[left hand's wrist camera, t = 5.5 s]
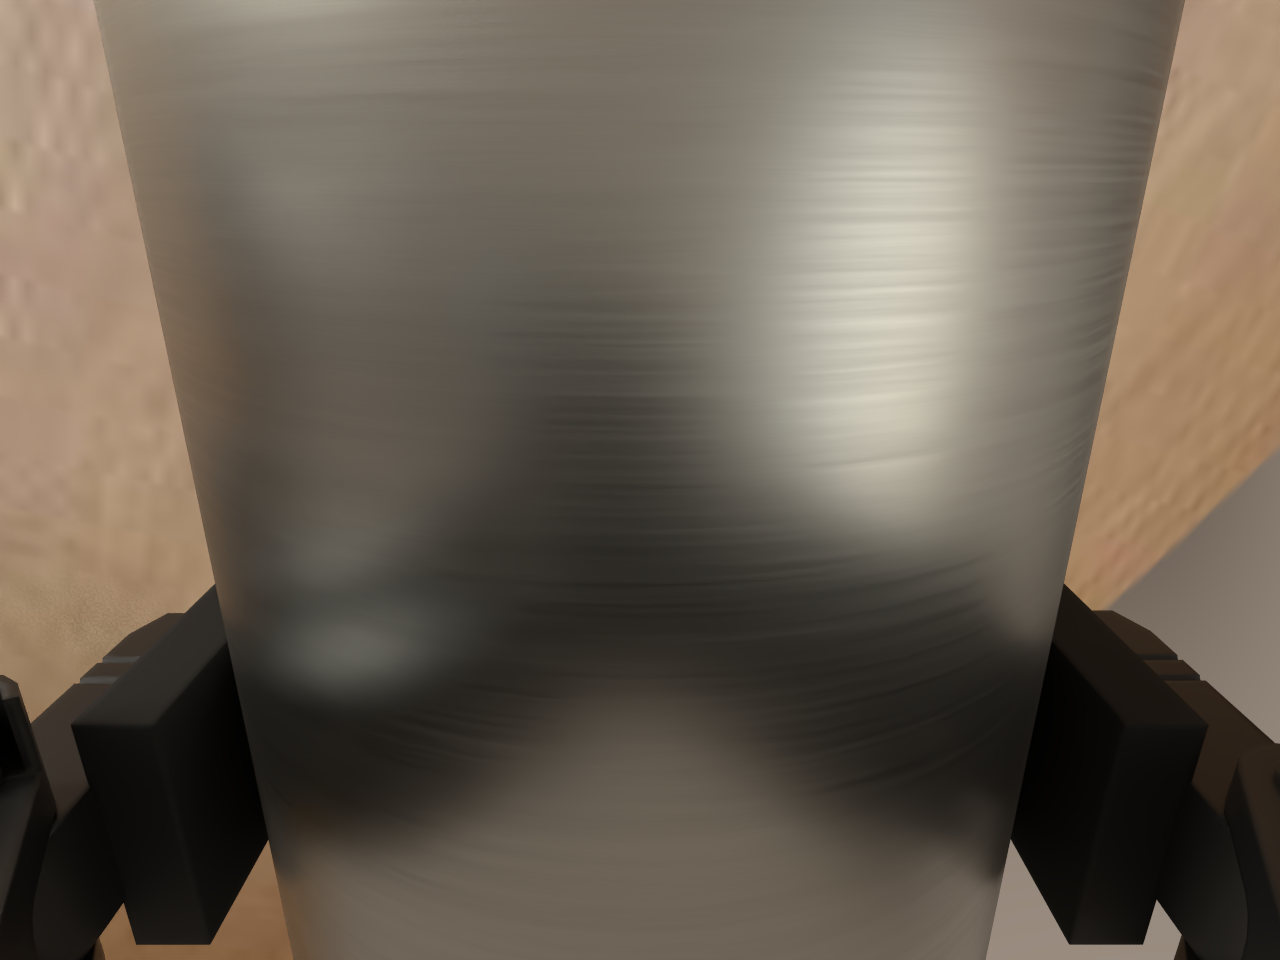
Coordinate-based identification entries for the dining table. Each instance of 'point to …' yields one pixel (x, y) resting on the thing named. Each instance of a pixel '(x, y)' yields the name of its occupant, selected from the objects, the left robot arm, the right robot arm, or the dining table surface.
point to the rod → (639, 444)
